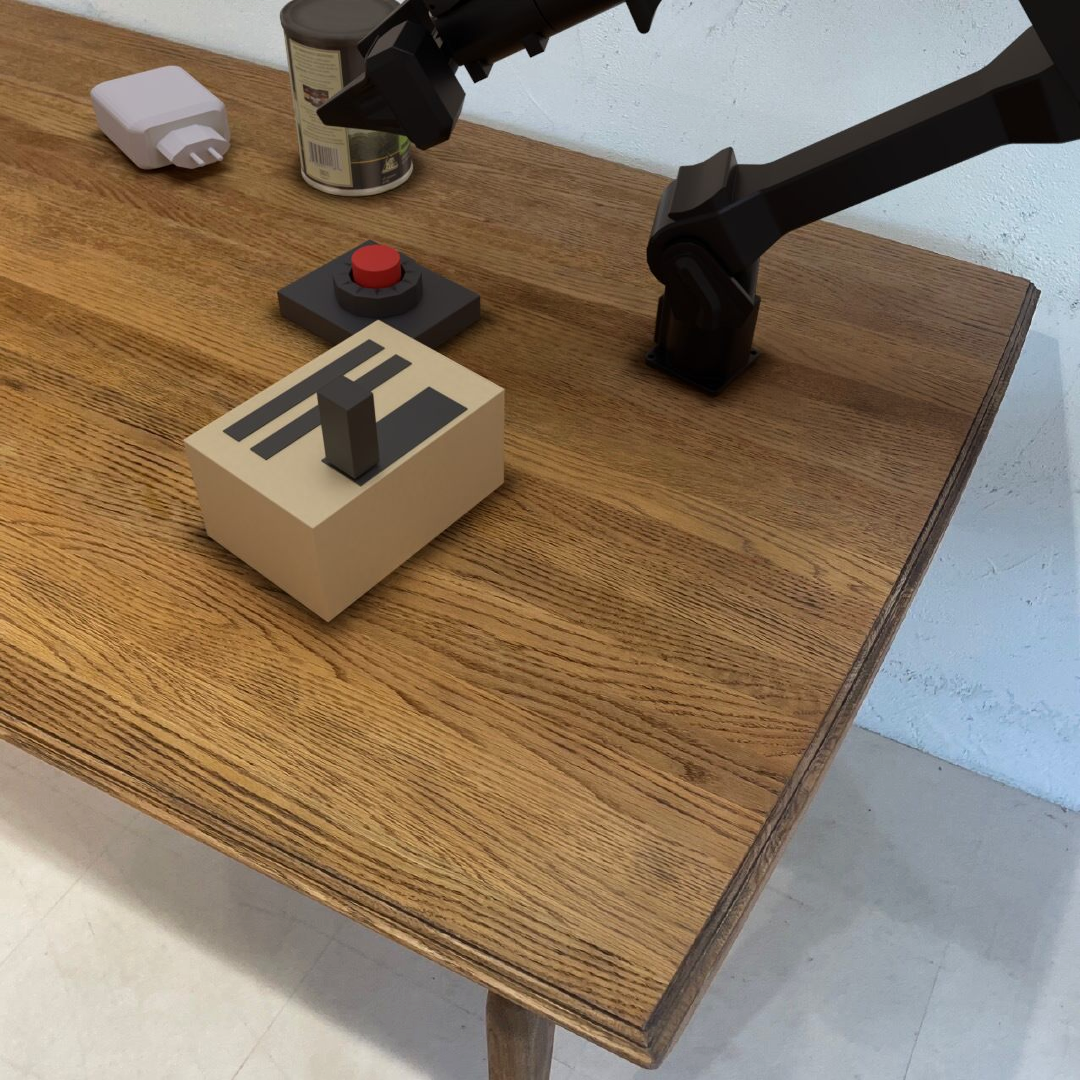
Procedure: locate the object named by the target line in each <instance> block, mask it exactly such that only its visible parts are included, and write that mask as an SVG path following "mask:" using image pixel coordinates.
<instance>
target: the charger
mask: <svg viewBox="0 0 1080 1080" xmlns="http://www.w3.org/2000/svg"><path fill="white" fill-rule="evenodd" d="M89 96H90V100H91V103H92V107H93V111H94V115H95V119H96V122H97V126H98V129H99V130H100V131H101V132H102V133H103V134H104V135H105V136H107V138H109V140H110V141H112V142H113V144H115V145H116V147H117V148H118V149H119V150H120V151H121V152H123V153H124V154H125V156H126V157H128V158H129V160H130V161H132V162H133V163H134V164H135V166H136V167H138V168H140V170H141V169H143V170H155V169H158V168H162V167H167V166H169V165H175V166H176V167H179V168H185V169H191V170H193V169H197V168H199V167H201V168H202V167H204V166H207V165H210V164H214V163H216V162H223V160H224V157H223V156H224V155H225V154H226V153H228V151H229V149H230V148H231V146H232V144H231V143H230V141H231V138H232V137H231V132H230V126H229V119H228V114H227V109H226V104H225V103H224V102H223V101H222V100H220V99H219V97H217V96H216V95H214V93H212V92H211V91H210V90H209V89H207V88H206V87H205V86H204V85H202V83H200V82H199V81H198V80H197V79H196V78H194V77H193V76H192V75H191V74H189V73H188V72H187V71H186V70H185V69H184V68H182V67H180V66H178V65H166V66H162V67H157V68H154V69H149V70H146V71H141V72H138V73H134V74H129V75H127V76H122V77H118V78H114V79H109V80H106V81H103V82H100V83H99V84H97V85H95V86H93V88H91V91H90V94H89Z"/></svg>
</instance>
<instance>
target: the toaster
mask: <svg viewBox="0 0 1080 1080" xmlns="http://www.w3.org/2000/svg"><path fill="white" fill-rule="evenodd" d="M341 376H345V377H347V378H349V379H350V380H352V381H354V382H355V383H357V384H359V385H360V386H362V387H364V388H365V389H367V390H369V391H371V392H372V393H373V395H374V406H375V416H376V426H377V437H378V447H379V458H380V461H379V462H378V463H377V464H375V465H374V466H372V467H371V468H370V469H368V470H367V471H365V472H364V473H363V474H361V475H360V476H358V477H357V478H353V477H351V476H350V475H348V474H347V473H345V472H344V471H342V470H341V469H339V468H337V467H336V466H334V465H333V464H331V463H330V462H328V461H327V460H326V456H325V449H324V442H323V435H322V428H321V421H320V414H319V407H318V400H317V391H319V390H320V389H322V388H323V387H325V386H327V385H328V384H330V383H331V382H333V381H334V380H336V379H337V378H339V377H341ZM505 394H506V393H505V388H504V387H501V386H499V385H498V384H496V383H494V382H492V381H491V380H489V379H487V378H485V377H483V376H481V375H480V374H477V373H476V372H474V371H473V370H471V369H469V368H468V367H465V366H464V365H461V364H460V363H458V362H456V361H454V360H452V359H451V358H448V357H447V356H445V355H443V354H441V353H440V352H438V351H436V350H435V349H434V350H432V349H431V348H429V347H427V346H425V345H423V344H421V343H420V342H418V341H416V340H414V339H412V338H411V337H409V336H407V335H405V334H403V333H401V332H400V331H398V330H396V329H394V328H392V327H391V326H389V325H387V324H385V323H383V322H381V321H380V320H377V321H375V322H374V323H372V324H370V325H369V326H367V327H366V328H364V329H362V330H361V331H359V332H357V333H356V334H354V335H353V336H351V337H349V338H348V339H346V340H344V341H343V342H341V343H340V344H338V345H336V346H333V347H331V348H330V349H328V350H327V351H325V352H323V353H322V354H319V356H316V357H315V358H313V359H312V360H310V361H308V362H307V363H305V364H304V365H302V366H301V367H299V368H297V369H295V370H294V371H292V372H291V373H289V374H288V375H285V376H283V378H281V379H280V380H278V381H276V382H274V383H273V384H271V385H270V386H268V387H267V388H265V389H263V390H262V391H259V393H257V394H255V395H253V396H252V397H250V398H248V399H247V400H245V401H244V402H241V404H238V405H237V406H236V407H234V408H233V409H231V410H229V411H228V412H225V414H224V413H223V415H221V416H220V417H218V418H216V419H215V420H213V421H211V422H209V423H208V424H207V425H205V426H203V427H202V428H200V429H199V430H197V431H195V432H193V433H192V434H190V435H189V436H187V437H186V438H183V440H182V441H183V442H182V443H183V446H184V449H185V455H186V457H187V461H188V465H189V468H190V473H191V476H192V481H193V484H194V488H195V492H196V496H197V500H198V505H199V507H200V508H199V509H200V512H201V516H202V519H203V523H204V527H205V531H206V535H207V536H208V537H210V538H211V539H212V540H213V541H215V543H218V544H219V545H221V546H222V547H223V548H225V549H226V550H227V551H229V553H231V554H233V555H234V556H235V557H236V558H238V559H239V560H241V561H243V562H244V563H245V564H247V565H248V566H249V567H251V568H252V569H254V570H255V571H256V572H257V573H259V574H260V575H262V576H263V577H264V578H266V579H267V580H269V581H270V582H271V583H273V584H274V585H275V586H277V587H278V588H280V589H281V590H283V591H284V592H285V593H286V594H287V595H289V596H291V597H292V598H293V599H294V600H296V601H297V602H299V603H301V604H302V605H303V606H305V607H306V608H307V609H308V610H310V611H311V612H313V613H314V614H316V615H317V616H318V617H319V618H321V619H322V620H324V621H325V622H326V623H330V622H331V621H332V620H334V619H335V618H336V617H337V616H338V615H340V614H341V613H342V612H343V611H345V610H346V609H347V608H348V607H350V606H351V605H352V604H354V603H355V602H356V601H357V600H358V599H360V598H361V597H362V596H364V595H365V594H366V593H368V592H369V591H370V590H371V589H373V588H374V587H375V586H376V585H378V584H379V583H380V582H382V580H383V579H385V578H386V577H388V576H389V575H390V574H391V573H392V572H394V571H395V570H396V569H397V568H399V567H401V565H402V564H404V563H405V562H406V561H407V560H409V559H410V558H411V557H413V556H414V555H415V554H416V553H418V552H419V551H420V550H422V549H423V548H425V546H426V545H428V544H429V543H430V542H432V540H434V539H435V538H436V537H437V536H440V534H441V533H443V532H444V531H445V530H447V529H448V528H449V527H450V526H452V525H453V524H454V523H455V522H456V521H458V520H459V519H461V518H462V517H463V516H464V515H465V514H467V513H468V512H469V511H471V509H473V508H474V507H476V506H477V505H478V504H479V503H481V502H482V501H483V500H484V499H485V498H487V497H488V496H489V495H490V494H492V493H493V492H494V491H496V490H497V489H499V487H501V486H502V485H503V484H504V483H505V478H504V477H505V475H504V474H505V397H506V396H505Z"/></svg>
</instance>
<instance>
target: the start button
mask: <svg viewBox="0 0 1080 1080" xmlns="http://www.w3.org/2000/svg"><path fill="white" fill-rule="evenodd" d="M397 251H398V250H397V249H395V248H394V247H392V246H388V245H384V244H380V245H369V246H365V247H362V248H360V249H358V250H357V251H355V252H354V254H353V255H352V269H353V278H354V281H355V283H356V284H357V285H359V286H361V287H364V288H372V289H381V288H387V287H392V286H393V285H395V284H397V283H398V282H399V281H400V280H401V263H400V255H399V253H398V252H397Z"/></svg>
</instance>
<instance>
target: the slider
mask: <svg viewBox="0 0 1080 1080" xmlns="http://www.w3.org/2000/svg"><path fill="white" fill-rule="evenodd" d="M317 400H318V407H319V414H320V421H321V428H322V435H323V442H324V449H325V456H326V460H327V461H328V462H330V463H331V464H333V465H334V466H336V467H337V468H339V469H341V470H342V471H344V472H345V473H347V474H348V475H350V476H351V477H353V478H357V477H358V476H360V475H361V474H363V473H364V472H365V471H367V470H368V469H370V468H371V467H372V466H374V465H375V464H377V463H378V462H379V461H380V458H379V447H378V437H377V426H376V416H375V406H374V395H373V393H372V392H371V391H369V390H367V389H365V388H364V387H362V386H360V385H359V384H357V383H355V382H354V381H352V380H350V379H349V378H347V377H345V376H341V377H339V378H337V379H336V380H334V381H333V382H331V383H330V384H328V385H327V386H325V387H323V388H322V389H320V390H319V391H317Z"/></svg>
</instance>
